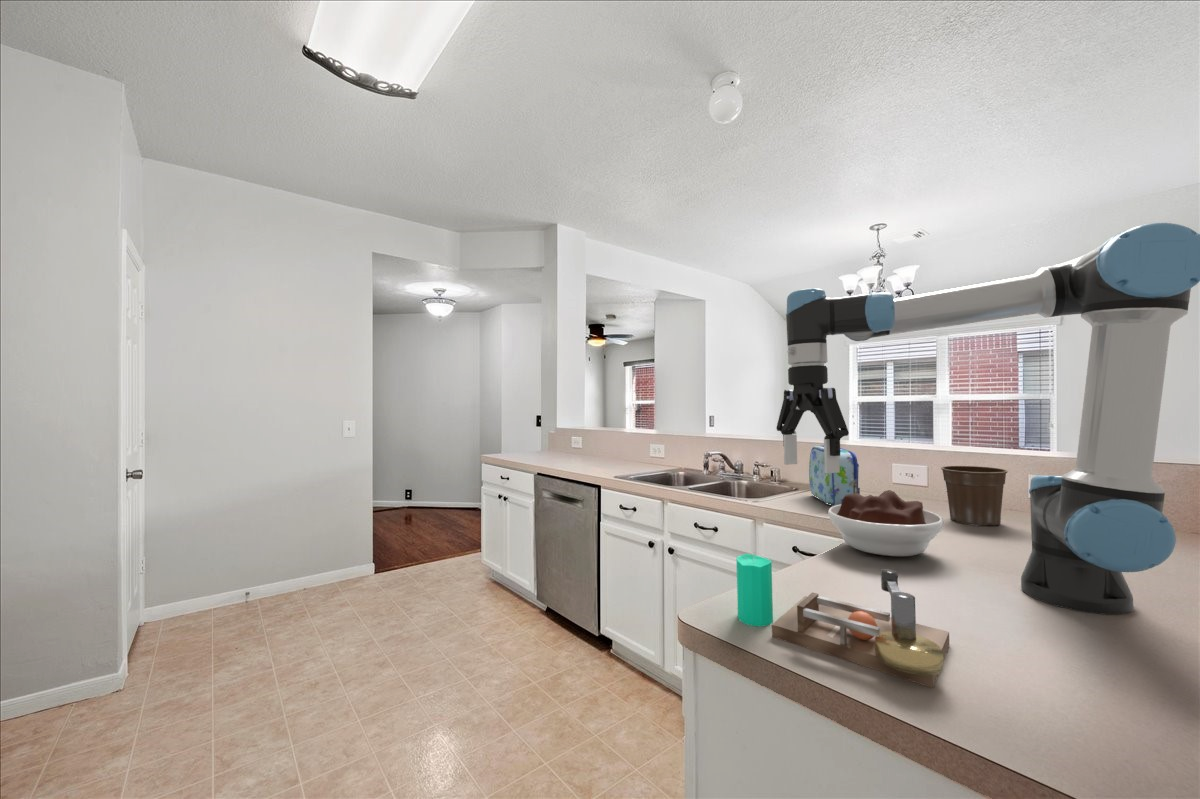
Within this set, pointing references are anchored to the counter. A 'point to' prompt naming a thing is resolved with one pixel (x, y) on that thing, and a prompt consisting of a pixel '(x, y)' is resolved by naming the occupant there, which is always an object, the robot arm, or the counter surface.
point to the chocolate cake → (885, 524)
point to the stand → (846, 633)
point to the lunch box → (833, 476)
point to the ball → (862, 618)
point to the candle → (754, 590)
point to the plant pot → (975, 494)
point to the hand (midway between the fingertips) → (810, 468)
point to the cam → (905, 635)
